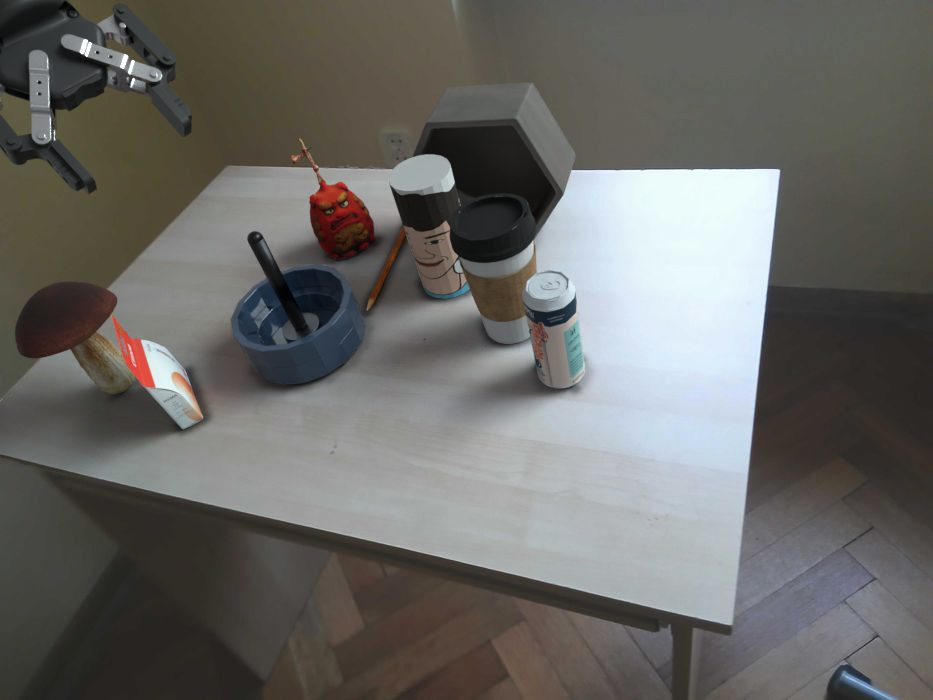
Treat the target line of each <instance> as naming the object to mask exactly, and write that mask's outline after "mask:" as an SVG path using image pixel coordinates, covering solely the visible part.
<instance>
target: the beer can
mask: <svg viewBox="0 0 933 700" xmlns="http://www.w3.org/2000/svg"><path fill="white" fill-rule="evenodd" d="M522 298H523V303H524V308H525V313H526V318H527V323H528V328H529V333H530V338H529V339H530V343H531V348H532V352H533V357H534V363H535V367H536V368H535V369H536V373H537V377H538V378H539V380H540V381H541V382H542V383H543V384H544V385H546V386H547V387H550V388H553V389H566V388H569V387H572V386H574V385H576V384H577V383H579V382H580V381H581V380H582V379H583V377H584V376H585V373H586V363H585V357H584V350H583V340H582V333H581V325H580V316H579V310H578V309H579V308H578V301H577V293H576V286H575V283H574V282H573V281H572V280H571V279H570V278H569V277H568V276H567V275H566V274H565V273H563V271H559V270H553V269H552V270H551V269H546V270H543V271H539V272H537V273H536V274H534V275H533V276H532V277H531V278H530V279H529V280H528V281H527V284H526V286H525V288H524V290H523V293H522Z"/></svg>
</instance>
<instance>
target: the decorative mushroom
mask: <svg viewBox="0 0 933 700" xmlns="http://www.w3.org/2000/svg"><path fill="white" fill-rule="evenodd" d="M117 306H118V297H117V295H116V294H115V293H114V292H112V291H111V290H109V289H107V288H105V287H102V286H101V285H98V284H94V283H90V282H84V281H59V282H53V283H51V284H48V285H46V286H44V287H42V288H40V289H39V290H36V292H35V293H34V294H33V295H32V296H31V297H29V298H28V300H27V301H26V303H25V304H24V306H23V307H22V309H21V311H20V313H19V315H18V317H17V320H16V323H15V327H14V329H15V330H14V338H15V343H16V349H17V351H18V353H19V355H21V356H22V357H24V358H26V359H27V358H28V359H43V358H47V357H51V356H55V355H57V354H61V353H64V352H66V351H67V352H68V351H69V350H70V351H71V353H72V354H73V356H74V357H75V359H76V362H77V363H78V365H79V366H80V367H81V368H82V369H83V371H84V373H86V374H87V377H89V378H90V380H91V381H92V382H93V383H94V384H95V385H96V386H97V387H98V388H99V389H101V390H102V391H103V392H104V393H107V394H115V395H116V394H120V393H124V392H125V391H127V390H129V388H130V387H131V386H133V384H134V382H135V380H136V377H135V376H134V375H133V373H132V372H131V371H130V369H129V368H128V367H127V365H126V364H125V362H124V360H123V356H122V353H121V350H119V349H118V348H117V347H116V346H115V345H114V344H113V343H112V342H111V341H110V340H109V338H107V337H105V336H104V335H103V334H102V333H101V332H100V331H99V330H100V329H101V327H103V325H104V324H105V323H106V322H107V320H108V319H109V318H110V317H111V314H112V315H113V313H114V311H115V309H116V307H117Z"/></svg>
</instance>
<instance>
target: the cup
mask: <svg viewBox="0 0 933 700" xmlns="http://www.w3.org/2000/svg"><path fill="white" fill-rule="evenodd" d="M387 181H388V184H389V187H390V190H391V193H392V197H393V199H394V203H395V206H396V209H397V212H398V216H399V218H400V220H401V224H402V228H403V227H404V230H405V233H406V235H405V237H406V239H407V242H408V245H409V248H410V251H411V254H412V257H413V260H414V264H415V266H416V269H417V273H418V276H419V279H420V282H421V285H422V288H423V290H424V292H425V293H426V294H427V295H429V296H430V297H433V298H436V299H444V300H446V299H451V298H452V299H453V298H456V297H458V296H461V295H463V294H465V293H466V292H468V291H470V288H469V286H468V283H467V281H466V278H465V276H464V273H463V270H462V268H461V265H460V261H459V256H458V255H457V254H456V253H455V252H454V251H453V249H452V246H451V242H450V237H449V236H450V218H451V216H452V214H453V213H454V211H455V210H456V209H457V208H458V207H460V206H461V205H460V201H459V197H458V193H457V189H456V185H455V181H454V177H453V173H452V169H451V165H450V163H449V161H448V160H447V159H446V158H444V157H443V156H439V155H435V154H425V155H420V156H415V157H413V156H412V157H410V158H407V159H405V160H403V161H402V162H400V163H398V164H397V165H396V166H394V167H393V168H392V169H391V171H390V173H389V174H388V179H387Z"/></svg>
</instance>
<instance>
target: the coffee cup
mask: <svg viewBox="0 0 933 700" xmlns="http://www.w3.org/2000/svg"><path fill="white" fill-rule="evenodd" d="M535 235H536V225H535V219H534V217H533V215H532V214H531V211H530V208H529V205H528V203H527V201H526V200H525V199H524V198H523V197H521V196H519V195H515V194H507V193H499V194H490V195H484V196H480V197H477V198H474V199H471V200H469V201H467V202H465V203H464V204H462V205H461V206H460V207H458V208H457V209H456V210H455V211H454V213H453V214H452V216H451V218H450V236H449V237H450V242H451V246H452V249H453V251H454V252H455V253H456V254H457V255H458V256H459V261H460V265H461V268H462V270H463V273H464V276H465V278H466V281H467V283H468V286H469V288H470V290H469V291H470V293H471V295H472V298H473V300H474V303H475V305H476V308H477V311H478V312H479V315H480V318H481V320H482V323H483V326H484V329H485V332H486V334H487V335H488V337H489V338H490V339H492V341H494V342H497V343H500V344H504V345H513V344H518V343H521V342H524V341H526V340H528V339H531V338H530V333H529V328H528V323H527V318H526V313H525V308H524V303H523V298H522V293H523V290H524V288H525V286H526V284H527V281H528V280H529V279H530V278H531V277H532V276H533V275H534V274H536V273H538V270H537V269H538V268H537V266H538V265H537V264H538V263H537V247H536V243H535V239H536V238H535ZM534 238H535V239H534ZM533 239H534V241H533Z"/></svg>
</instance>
